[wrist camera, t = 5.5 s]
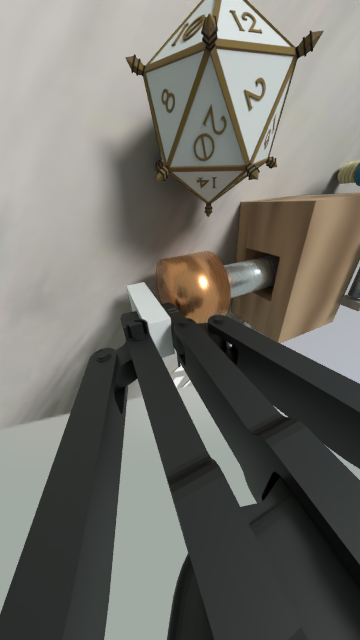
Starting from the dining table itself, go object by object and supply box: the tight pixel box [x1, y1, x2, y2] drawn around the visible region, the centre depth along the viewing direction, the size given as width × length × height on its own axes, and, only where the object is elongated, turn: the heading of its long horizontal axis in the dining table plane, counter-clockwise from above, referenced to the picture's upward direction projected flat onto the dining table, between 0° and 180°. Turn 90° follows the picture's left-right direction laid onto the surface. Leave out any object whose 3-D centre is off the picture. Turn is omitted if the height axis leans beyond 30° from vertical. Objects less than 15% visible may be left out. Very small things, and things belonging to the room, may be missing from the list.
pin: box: [156, 251, 280, 323], centre depth 18 cm, size 16×6×6 cm, turn 95°
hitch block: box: [232, 193, 360, 343], centre depth 19 cm, size 8×12×9 cm
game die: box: [126, 0, 323, 217], centre depth 11 cm, size 9×8×10 cm
